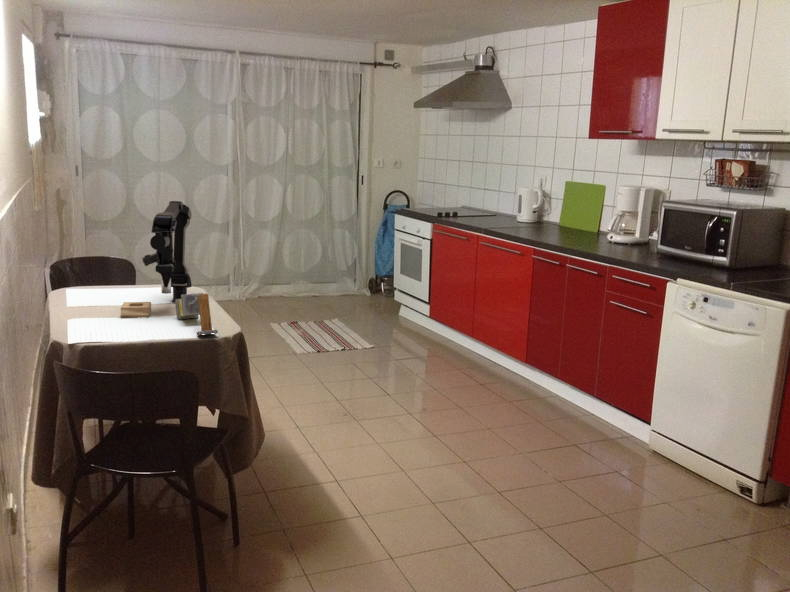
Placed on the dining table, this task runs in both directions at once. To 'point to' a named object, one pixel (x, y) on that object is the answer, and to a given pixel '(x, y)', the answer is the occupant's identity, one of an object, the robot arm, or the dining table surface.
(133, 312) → the bore block
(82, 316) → the dining table surface
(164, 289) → the pin
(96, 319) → the dining table surface
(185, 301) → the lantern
